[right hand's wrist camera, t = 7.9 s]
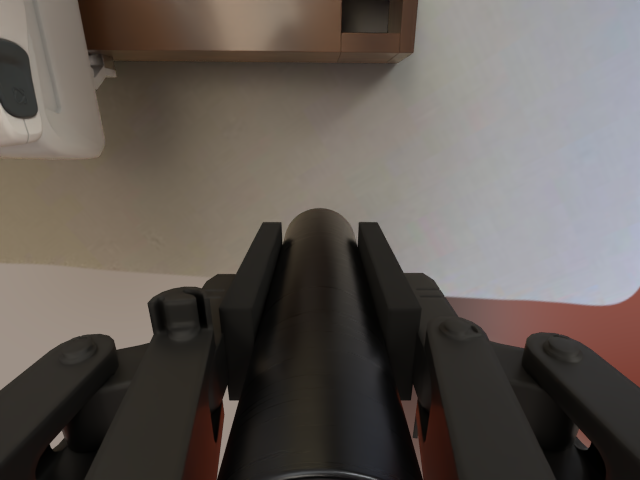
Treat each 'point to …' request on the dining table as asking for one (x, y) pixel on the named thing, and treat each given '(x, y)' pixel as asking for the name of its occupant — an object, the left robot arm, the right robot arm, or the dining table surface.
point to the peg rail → (241, 31)
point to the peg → (319, 371)
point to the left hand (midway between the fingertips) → (95, 9)
